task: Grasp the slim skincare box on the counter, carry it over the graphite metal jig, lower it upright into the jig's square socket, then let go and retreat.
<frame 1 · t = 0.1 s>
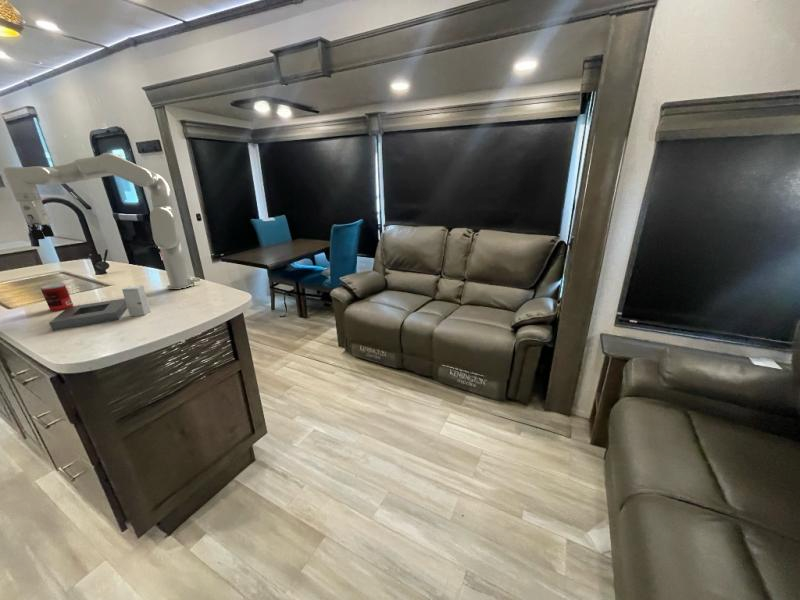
hand: (44, 237, 142), 31 cm above the worktop, tool pointing down, fingers open, 9 cm apart
canned food: (62, 308, 145), on the worktop
jig: (94, 316, 134), on the worktop
skincare box: (141, 314, 136), on the worktop
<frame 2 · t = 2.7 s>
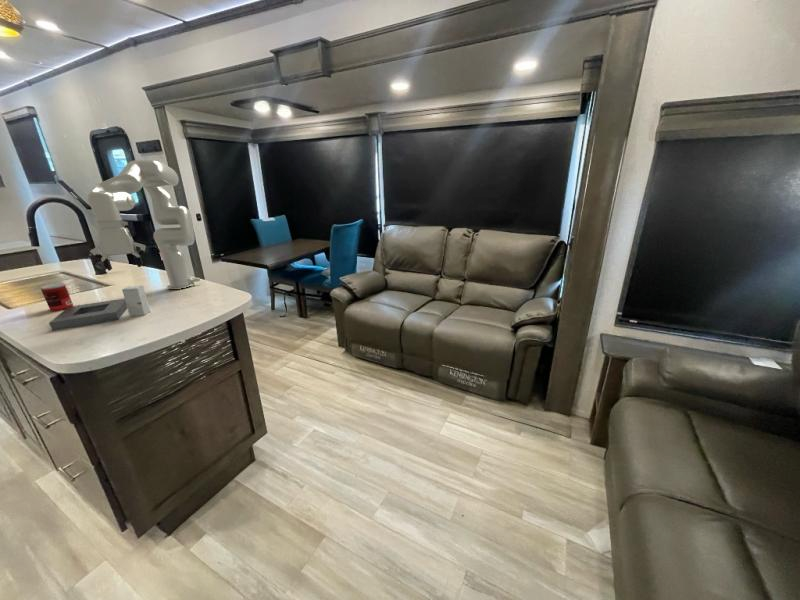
hand: (125, 268, 129), 20 cm above the worktop, tool pointing down, fingers open, 9 cm apart
nothing on the worktop moved.
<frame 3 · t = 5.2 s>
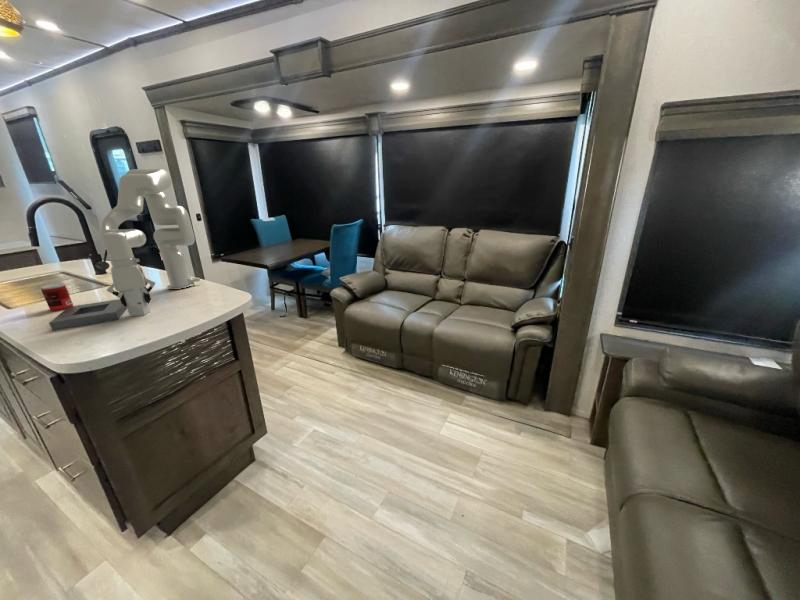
hand: (137, 303, 134), 5 cm above the worktop, tool pointing down, fingers closed on skincare box, 7 cm apart
skincare box: (141, 314, 136), on the worktop, touching gripper
everything else where it was.
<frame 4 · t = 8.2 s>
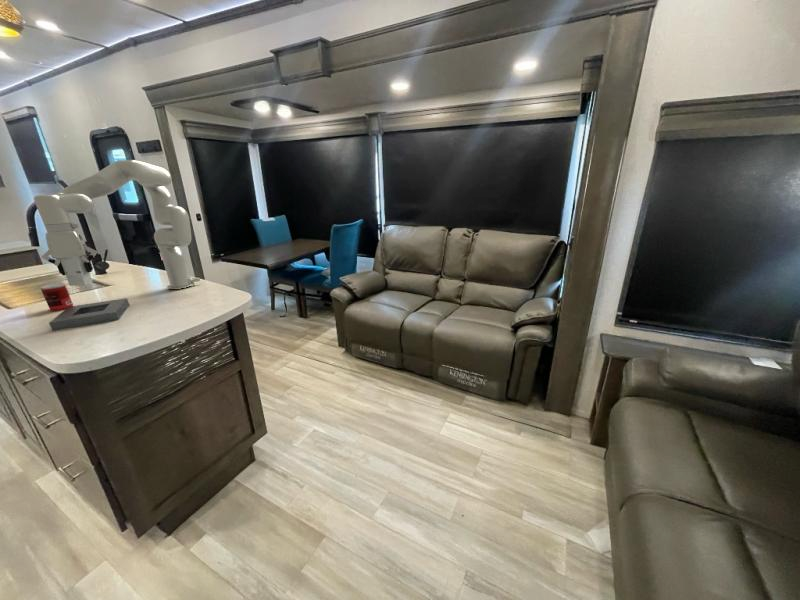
hand: (77, 272, 127), 19 cm above the worktop, tool pointing down, fingers closed on skincare box, 7 cm apart
skincare box: (82, 284, 129), point 14 cm above the worktop, touching gripper
everything else where it was.
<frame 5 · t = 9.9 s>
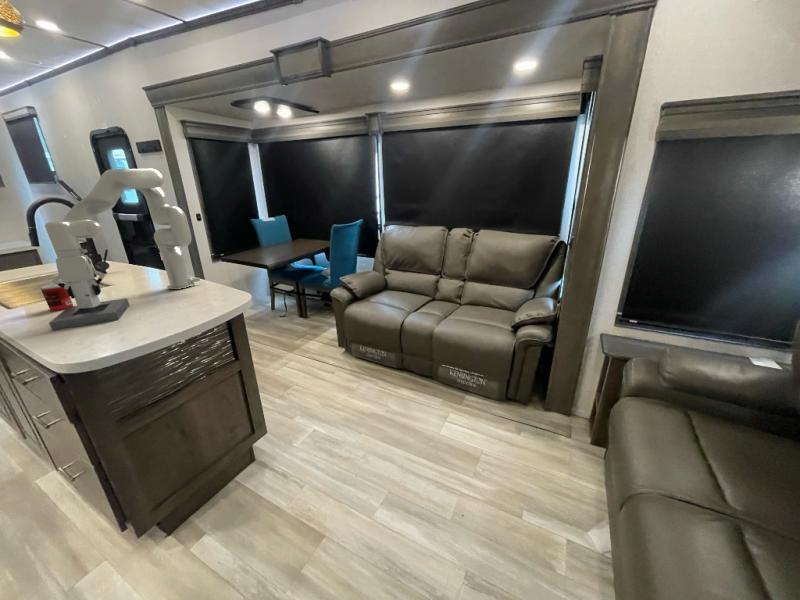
hand: (86, 295, 131), 10 cm above the worktop, tool pointing down, fingers closed on skincare box, 7 cm apart
skincare box: (90, 306, 132), point 5 cm above the worktop, touching gripper
everything else where it was.
when the fingers open (6 cm above the worktop, at t = 11.2 s): skincare box stays where it is, resting in jig.
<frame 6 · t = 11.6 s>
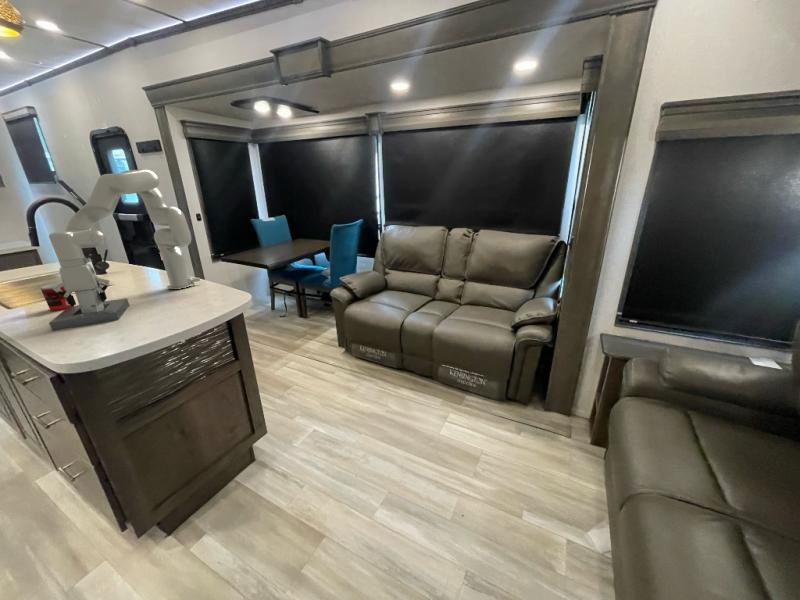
hand: (89, 303, 132), 6 cm above the worktop, tool pointing down, fingers open, 9 cm apart
skincare box: (96, 317, 134), resting in jig
everything else where it was.
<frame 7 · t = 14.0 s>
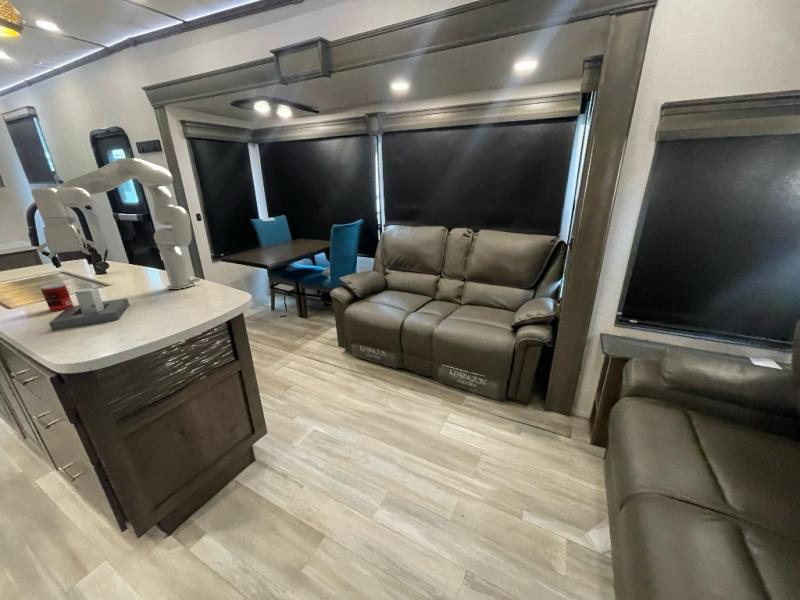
hand: (75, 265, 127), 22 cm above the worktop, tool pointing down, fingers open, 9 cm apart
nothing on the worktop moved.
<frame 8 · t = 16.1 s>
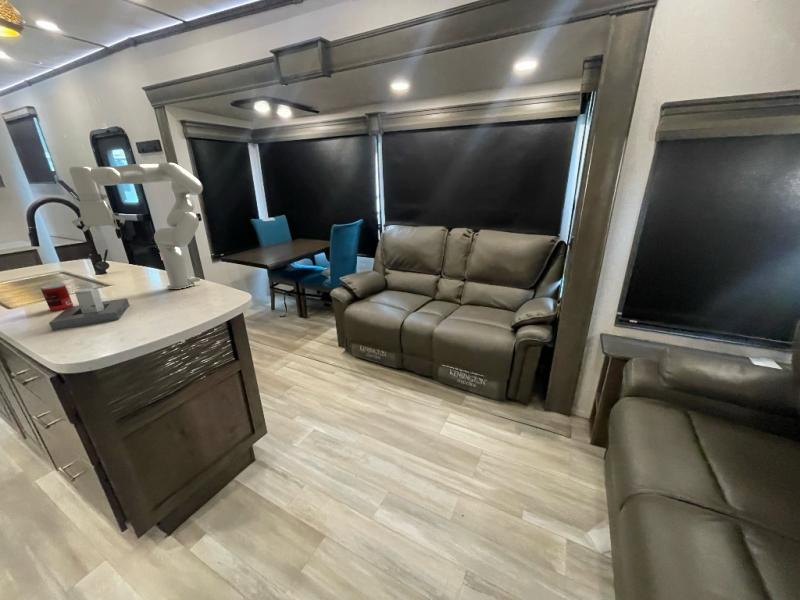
hand: (105, 239, 138), 30 cm above the worktop, tool pointing down, fingers open, 9 cm apart
nothing on the worktop moved.
at the end: skincare box 0.4 cm off-centre on the jig, point 0.0 cm above the jig's base; skincare box tilted 0°; the gripper is holding nothing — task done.
